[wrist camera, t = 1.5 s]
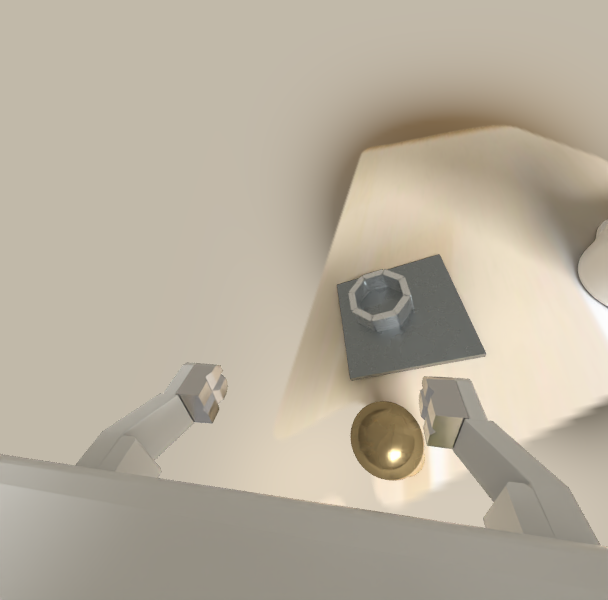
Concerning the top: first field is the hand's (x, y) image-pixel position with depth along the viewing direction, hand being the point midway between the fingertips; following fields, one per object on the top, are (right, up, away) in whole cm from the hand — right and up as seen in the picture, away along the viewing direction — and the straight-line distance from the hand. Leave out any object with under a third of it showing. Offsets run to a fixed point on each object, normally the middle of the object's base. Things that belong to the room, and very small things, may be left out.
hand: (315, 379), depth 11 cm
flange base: (+15, +1, +33) cm, 36 cm away
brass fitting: (+12, -16, +23) cm, 30 cm away
